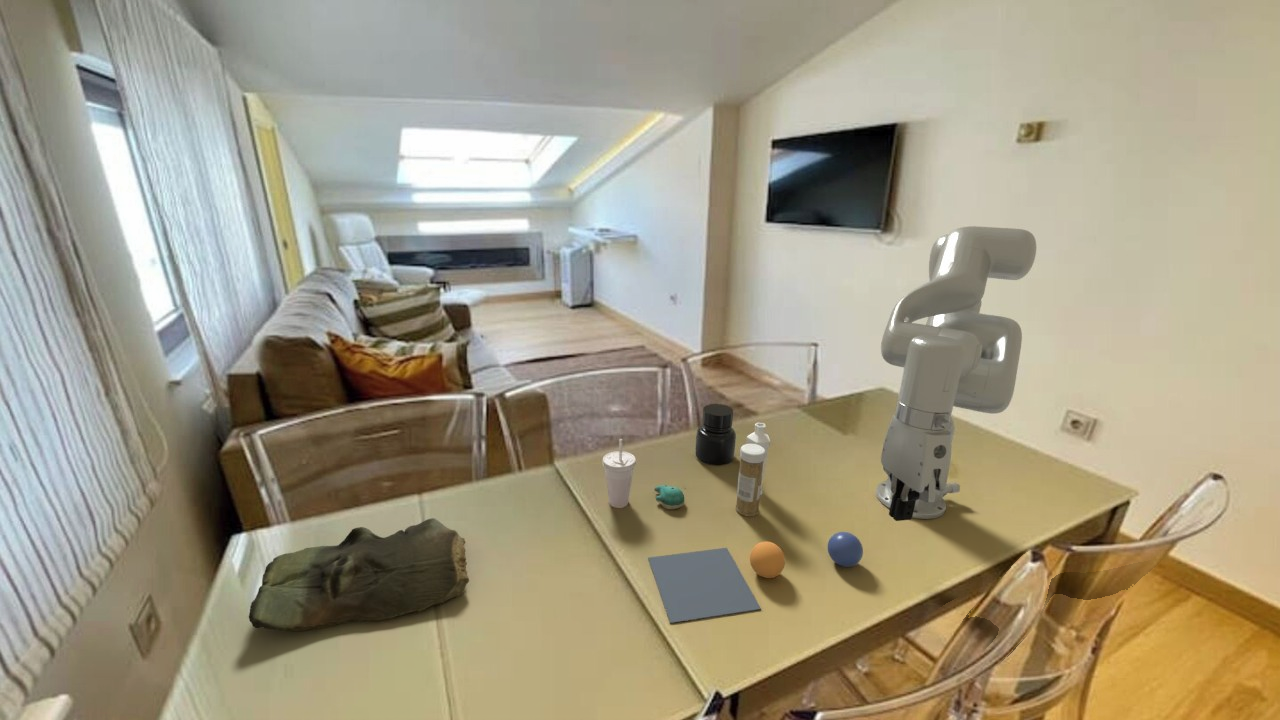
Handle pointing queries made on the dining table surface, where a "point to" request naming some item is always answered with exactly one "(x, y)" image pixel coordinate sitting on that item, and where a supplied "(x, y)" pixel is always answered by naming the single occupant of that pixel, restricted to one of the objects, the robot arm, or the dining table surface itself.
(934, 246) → the robot arm
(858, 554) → the blue ball
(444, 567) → the stone head
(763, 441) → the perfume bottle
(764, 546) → the orange ball
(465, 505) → the dining table surface
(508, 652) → the dining table surface
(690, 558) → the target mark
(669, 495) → the whale figurine
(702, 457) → the ink bottle
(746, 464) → the sprinkles bottle
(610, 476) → the smoothie
